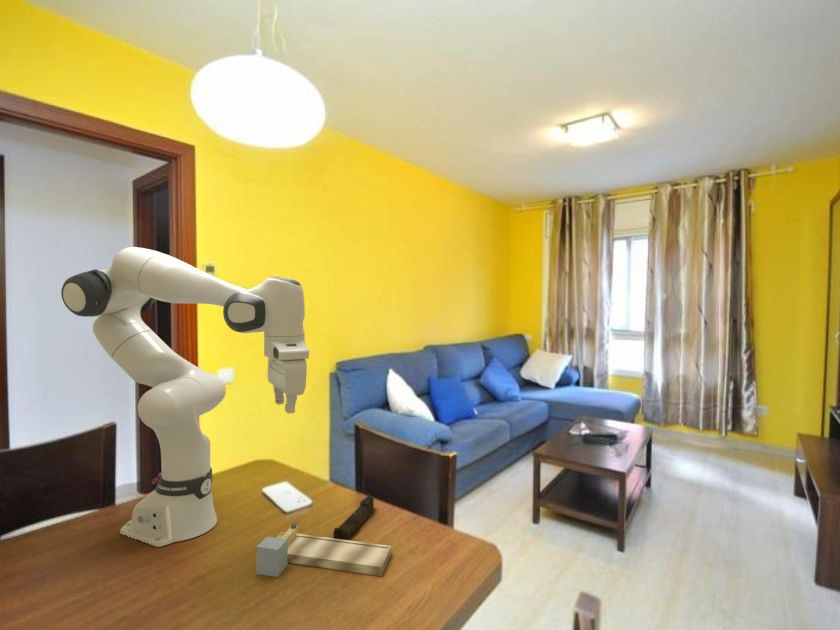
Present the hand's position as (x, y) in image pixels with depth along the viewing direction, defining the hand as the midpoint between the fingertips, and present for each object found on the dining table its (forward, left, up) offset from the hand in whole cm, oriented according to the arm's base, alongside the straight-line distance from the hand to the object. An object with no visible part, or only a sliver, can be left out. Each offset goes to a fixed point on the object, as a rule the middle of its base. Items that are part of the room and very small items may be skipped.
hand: (284, 408), depth 96 cm
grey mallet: (0, -1, -34) cm, 34 cm away
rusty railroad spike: (+11, +17, -35) cm, 40 cm away
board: (+10, +2, -34) cm, 36 cm away
